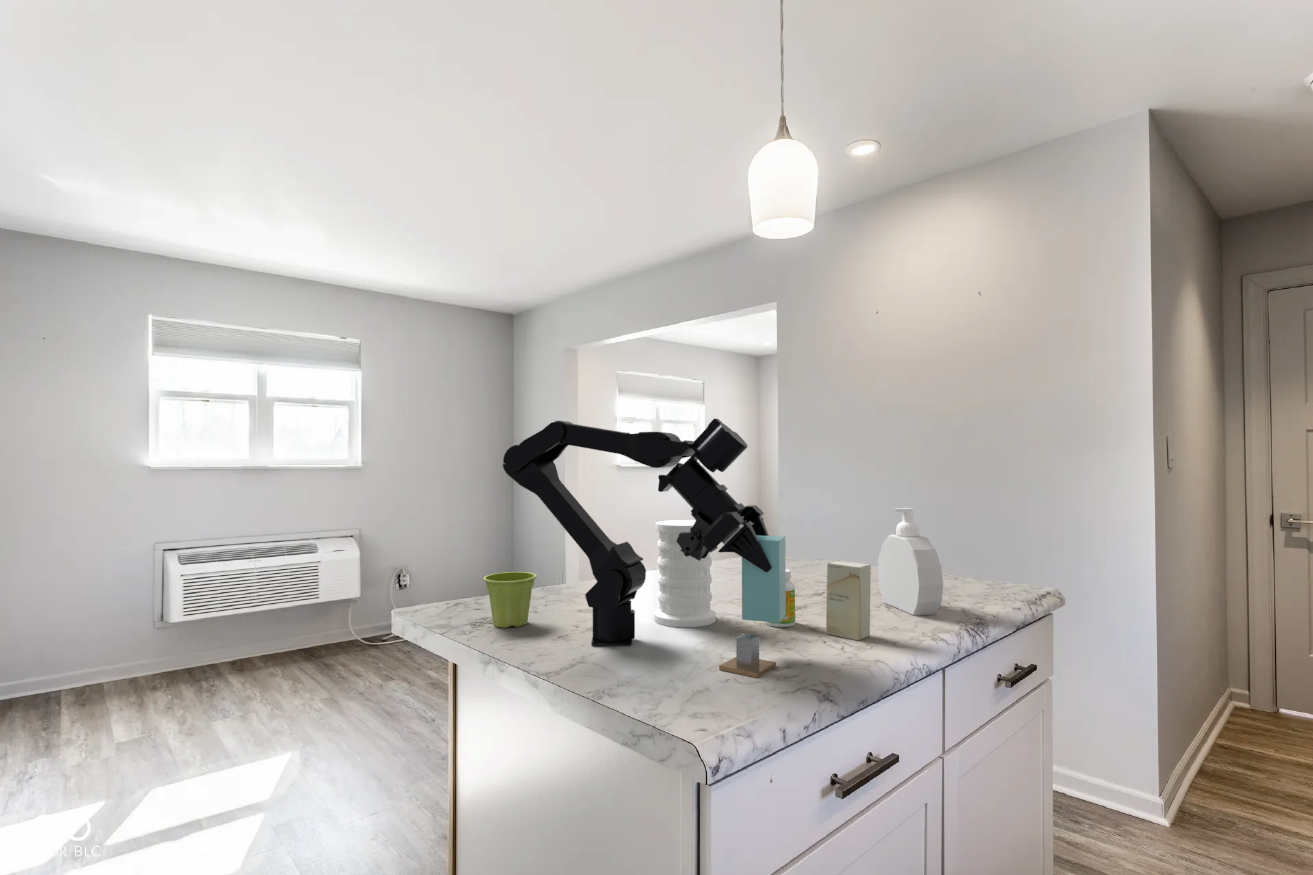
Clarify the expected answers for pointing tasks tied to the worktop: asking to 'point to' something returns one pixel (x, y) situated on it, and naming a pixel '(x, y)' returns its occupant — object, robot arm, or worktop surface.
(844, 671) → the worktop surface
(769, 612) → the teal block
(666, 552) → the decorative container
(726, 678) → the worktop surface
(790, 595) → the supplement bottle
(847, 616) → the skincare box
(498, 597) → the plant pot
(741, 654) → the post
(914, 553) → the soap bottle
